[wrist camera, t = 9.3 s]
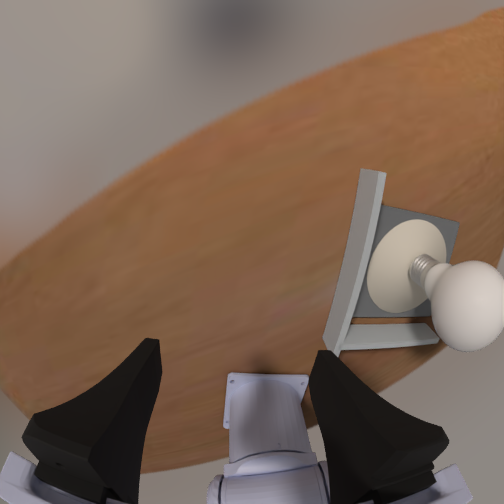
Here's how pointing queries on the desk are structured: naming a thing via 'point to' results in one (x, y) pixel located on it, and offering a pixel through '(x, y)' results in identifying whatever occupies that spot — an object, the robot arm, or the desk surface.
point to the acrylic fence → (351, 279)
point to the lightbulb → (462, 300)
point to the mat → (402, 262)
